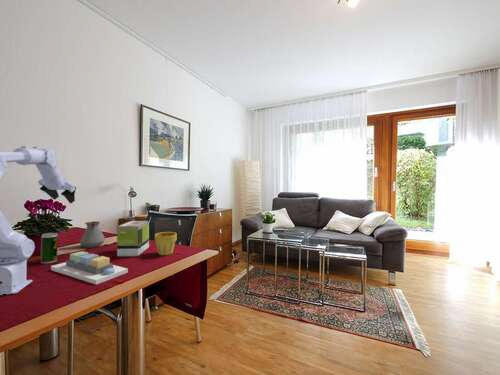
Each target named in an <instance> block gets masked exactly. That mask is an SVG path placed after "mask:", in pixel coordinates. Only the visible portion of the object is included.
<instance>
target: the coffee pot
mask: <svg viewBox="0 0 500 375" xmlns="http://www.w3.org/2000/svg"><path fill="white" fill-rule="evenodd" d="M100 223H101V221H87V222H86V221H85V222H84V224H85V225H86V228H85V231H84V232H83V234H82V237H81V238H80V240H79V244H80V245H81V246H82V247H84V248H85V249H87V248H97V247H100V246H102V244H103V243H104V242H105V241H106V237H105V236H104V234H103V232H102V229H101V228H100Z"/></svg>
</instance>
